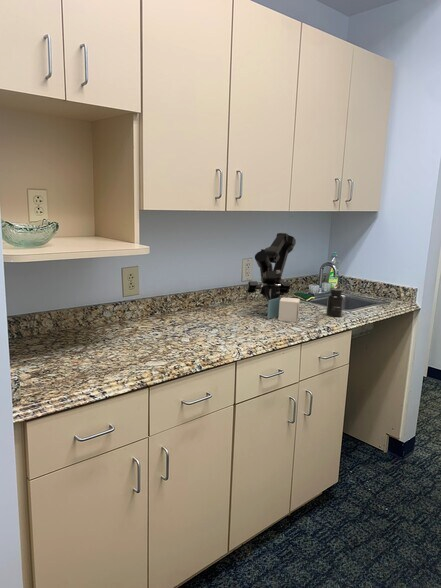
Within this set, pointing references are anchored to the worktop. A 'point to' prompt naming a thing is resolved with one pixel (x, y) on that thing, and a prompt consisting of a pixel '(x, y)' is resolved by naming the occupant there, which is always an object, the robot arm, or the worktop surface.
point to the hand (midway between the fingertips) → (270, 303)
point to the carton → (289, 309)
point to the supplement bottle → (335, 303)
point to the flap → (273, 307)
